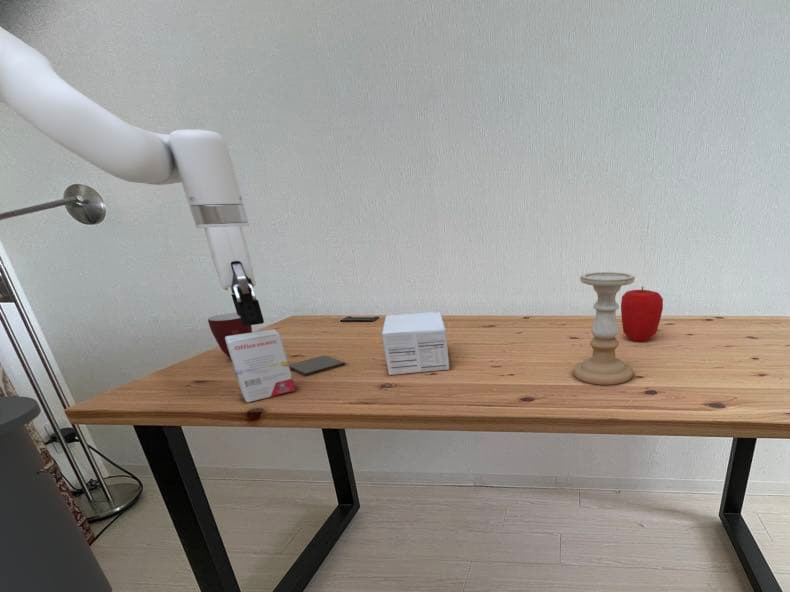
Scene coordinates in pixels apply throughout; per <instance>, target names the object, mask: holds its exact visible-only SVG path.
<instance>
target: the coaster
mask: <svg viewBox="0 0 790 592" xmlns="http://www.w3.org/2000/svg"><path fill="white" fill-rule="evenodd" d="M288 364H289V368H290V370H291V371H294V372H296V373H299V374H301V375H303V376H306V377H308V376H311V375H314V374H318V373H321V372H325V371H328V370H329V371H330V370H332V369H336V368H339V367H342V366H345V365H346V363H345V362H344V361H342V360H339V359H336V358H335V357H331V356H328V355H325V354H324V355H320V356H317V357H312V358H309V359H305V360H301V361H297V362H294V363H293V362H292V363H288Z"/></svg>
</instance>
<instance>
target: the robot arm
mask: <svg viewBox="0 0 790 592" xmlns="http://www.w3.org/2000/svg"><path fill="white" fill-rule="evenodd" d="M0 102H1V103H3V104H4V105H6V106H7V107H9V108H10V109H11V110H12V111H14V113H15V114H16V115H18V116H19V117H21V119H23V120H24V121H26V122H27V123H28V124H30V125H31V126H32V127H33V128H34V129H36V130H37V131H38V132H40V133H41V134H43V135H44V136H46V137H47V138H49V139H50V140H52V141H53V142H55V143H56V144H57V145H60V146H61V147H63V148H64V149H66V150H68V151H69V152H71V153H72V154H74V155H76V156H78V157H79V158H80V159H82V160H84V161H86V162H88V163H89V164H91V165H93V166H94V167H96V168H98V169H99V170H101V171H103V172H104V173H107V175H110V176H113V177H115V178H117V179H120V180H122V181H126V182H128V183H135V184H147V185H156V186H164V185H165V186H166V185H173V184H180V183H181V184H182V187H183V191H184V194H185V197H186V200H187V204H188V207H189V209H190V213H191V216H192V219H193V222H194V225H195V228H196V229H204V233H205V237H206V241H207V244H208V249H209V252H210V255H211V258H212V261H213V264H214V268H215V271H216V274H217V276H218V281H219V284H220V286H221V288H222V289H223V290H225V291H229V288H230V290H231V298H232V303H233V305H234V308H235V311H236V312H235V313H237V314H238V316H240V317H241V320H242V324H243V325H244V326H250V325H251V326H256V325H263V324H264V323H265V320H264V316H263V313H262V309H261V305H260V302H259V299H257V296H256V293H255V290H254V287H255V286H256V285H257V284H256V278H255V273H254V268H253V265H252V261H251V256H250V251H249V249H248V245H247V241H246V238H245V234H244V231H243V227H247V226H250V223H249V220H248V216H247V212H246V208H245V205H244V201H243V198H242V194H241V191H240V190H241V189H240V185H239V183H238V178H237V176H236V172H235V169H234V164H233V161H232V156H231V154H230V150H229V147H228V144H227V141H226V139H225V138H224V137H223V136H222V135H221V134H220V133H219V132H216V131H212V130H206V129H191V128H189V129H188V128H187V129H176V130H173V131H171V132H170V133H159V132H154V131H151V130H146V129H144V128H141V127H138V126H136V125H132V124H130V123H128V122H126V121H125V120H123V119H121V118H120V117H118V116H117V115H115V114H113V112H110V111H109V110H107V109H106V108H105V107H103V106H101V105H100V104H98V103H97V102H95V101H94V100H92V99H91V98H89V97H88V96H86V95H85V94H83V93H81V92H80V91H79V90H78V89H76V88H75V87H73V86H72V85H71V84H69V83H68V82H67V81H65V80H64V79H63V78H62V77H61V76H60V75H59V74H58V73H57V72H56V71H55V70H54V67H53V64H52V62H51V61H50V60H49V59H48V58H47V57H46V56H45V55H44V54H43V53H41V52H40V51H38V50H37V49H35V48H34V47H32V46H31V45H29V44H27V43H26V42H25V41H23V40H22V39H20V38H18V37H17V36H16V35H14V34H12V33H11V32H9V31H8V30H6V29H5V28H3V27H2V26H0Z"/></svg>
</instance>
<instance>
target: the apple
mask: <svg viewBox="0 0 790 592" xmlns="http://www.w3.org/2000/svg"><path fill="white" fill-rule="evenodd" d="M663 310H664V298H663V297H662V295H661V294H660V292H657V291H654V290H648V289H644V286H642V287H641V289H632V290H627V291H625V292H624V294H622V295H621V301H620V312H621V313H620V315H621V325H622V332H623V333H624V335H625V336H626V337H627V339H628V340H630V341H632V342H636V343H637V342H638V343H641V342H642V343H643V342H647V341H648V340H650V339H651V338H652V337H653V336H655V335H656V334H657V332H658V328H659V326H660V321H661V318H662V313H663Z"/></svg>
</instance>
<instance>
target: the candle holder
mask: <svg viewBox="0 0 790 592" xmlns="http://www.w3.org/2000/svg"><path fill="white" fill-rule="evenodd" d="M579 280H580V283H582V284H584V285H589V286H592V288H593V290H594V292H595V293H596V295H597V300H596V302H594V304H593V306H592V307H593V309H594V310H595V316H594V319H593V323H592V325H591V329H590V332H591V334H592V336H593V338H592V339H591V340H590V341H589V345H590V347H591V348H592V355H591V357H588V358H585V359H584V360H583V361H580V362H579V363H577V364H576V365H575V366H574V368H573V375H574V377H575V378H576V379H578V380H579V381H582V382H584V383H587V384H591V385H599V386H602V385H603V386H611V385H619V384H624V383H627V382H628V381H630V380H631V379H632V378H633V375H634V370H633V368H632V366H631V365H630V364H628V363H625V362H624V361H623V360H622V359H620V358H617V357H616V349H617V348H618V347H619V345H620V342H619V340H617V338H616V337H617V336H618V335H619V332H620V329H619V324H618V321H617V313H616V312H617V310H618V309H619V308H620V305H619V303H617V300H616V296H617V293H618V292H619V291H620V290H621V288H622V287H623V286H628V285H631V284H633V283H635V281H636V276H635V275H633V274H631V273H626V272H617V271H615V272H612V271H611V272H610V271H600V272H599V271H598V272H587V273H583V274H582V275H580V276H579Z"/></svg>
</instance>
